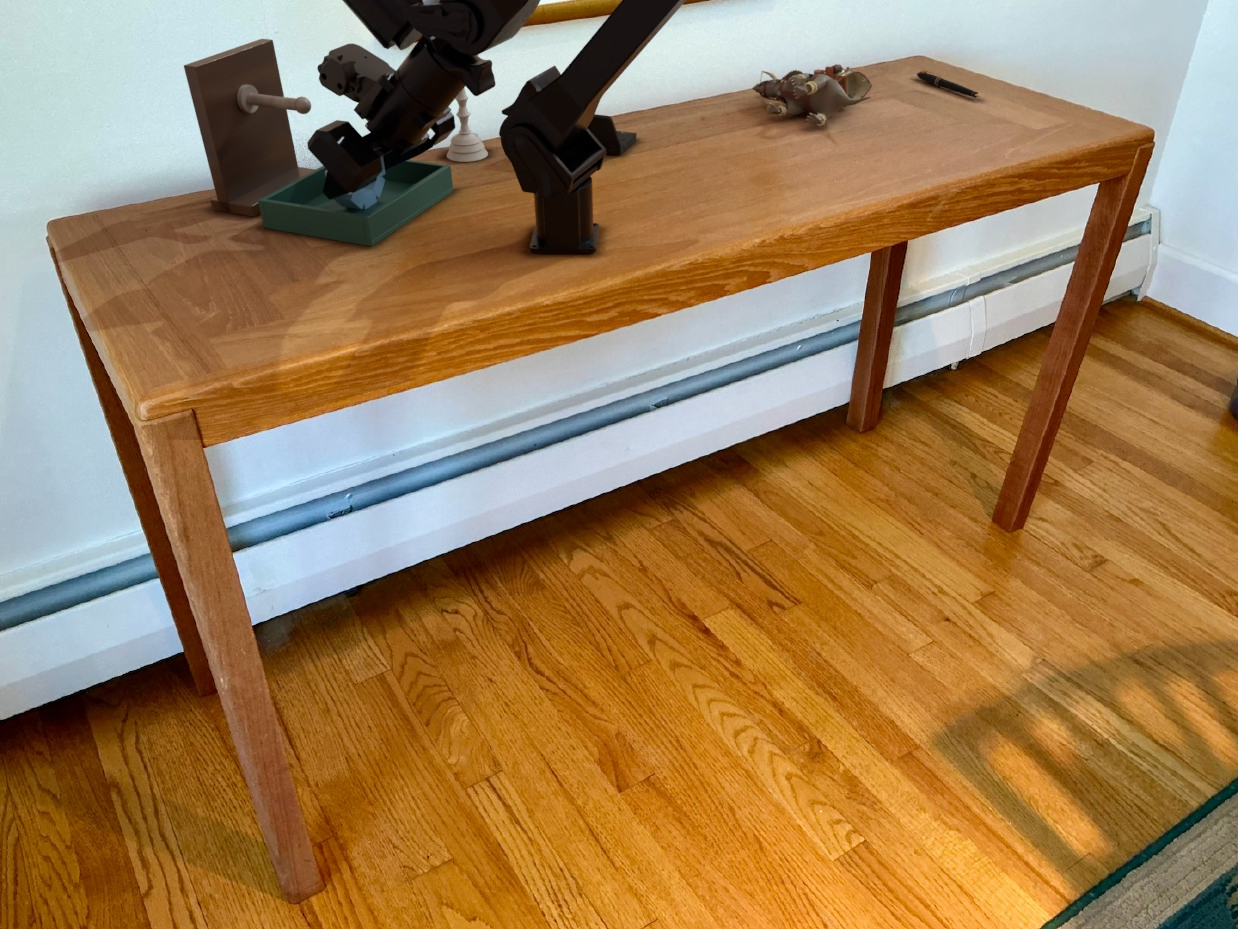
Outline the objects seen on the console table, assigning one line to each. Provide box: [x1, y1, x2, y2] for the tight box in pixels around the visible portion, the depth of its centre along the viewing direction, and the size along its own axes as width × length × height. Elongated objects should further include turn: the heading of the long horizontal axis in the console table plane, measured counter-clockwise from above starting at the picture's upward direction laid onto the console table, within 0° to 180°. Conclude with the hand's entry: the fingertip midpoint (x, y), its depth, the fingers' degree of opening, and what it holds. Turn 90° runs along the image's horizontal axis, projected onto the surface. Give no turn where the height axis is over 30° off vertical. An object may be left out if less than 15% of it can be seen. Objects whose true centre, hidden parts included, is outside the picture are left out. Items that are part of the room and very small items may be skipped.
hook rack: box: [183, 38, 317, 218], centre depth 105 cm, size 11×12×15 cm
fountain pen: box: [916, 69, 984, 99], centre depth 142 cm, size 14×1×2 cm, turn 26°
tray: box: [258, 159, 454, 247], centre depth 106 cm, size 13×16×3 cm
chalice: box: [446, 54, 489, 163], centre depth 115 cm, size 7×7×18 cm
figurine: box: [751, 63, 873, 127], centre depth 133 cm, size 20×6×17 cm
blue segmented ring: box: [325, 148, 386, 210], centre depth 104 cm, size 2×7×7 cm, turn 158°
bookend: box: [588, 113, 637, 156], centre depth 121 cm, size 12×7×10 cm
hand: (347, 183), depth 105 cm, fingers closed on blue segmented ring, 7 cm apart
